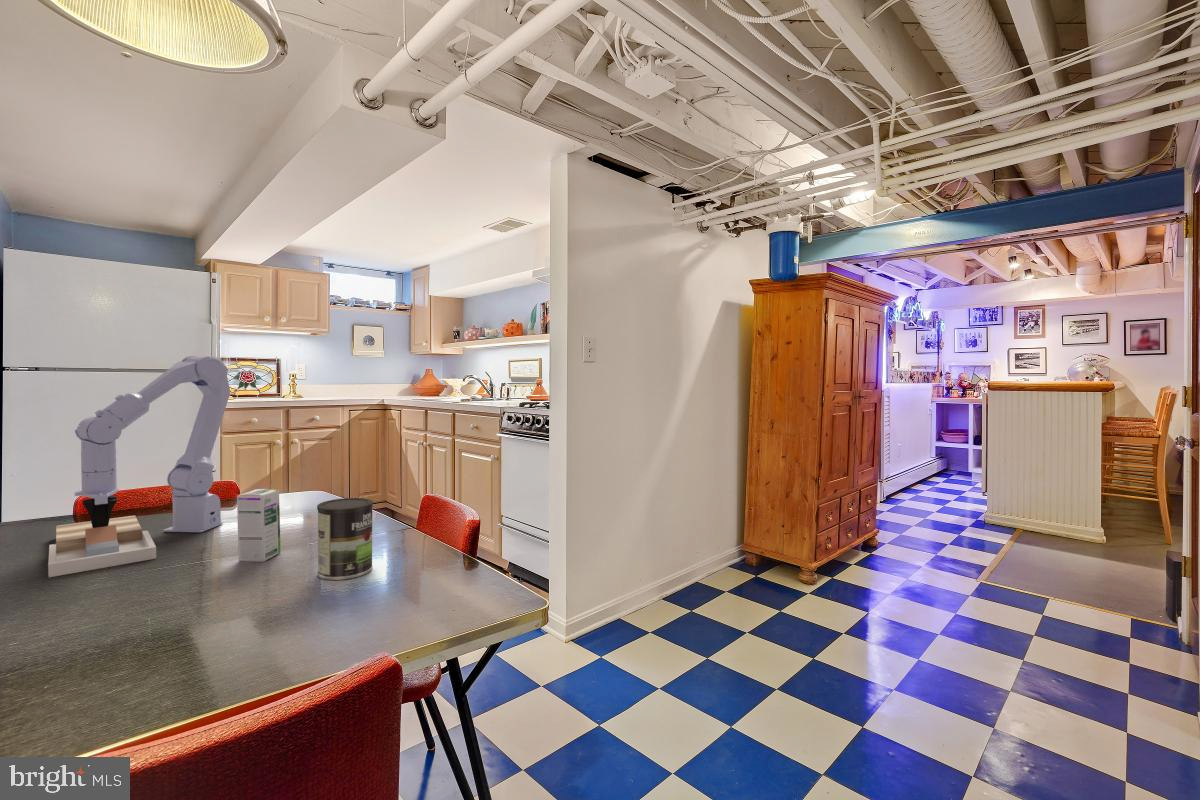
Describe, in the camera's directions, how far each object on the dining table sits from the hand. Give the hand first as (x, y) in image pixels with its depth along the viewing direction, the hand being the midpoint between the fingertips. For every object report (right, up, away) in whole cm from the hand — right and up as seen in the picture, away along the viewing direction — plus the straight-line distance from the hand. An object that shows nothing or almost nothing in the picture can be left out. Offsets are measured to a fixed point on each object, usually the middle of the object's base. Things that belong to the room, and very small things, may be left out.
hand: (100, 530), depth 119 cm
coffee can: (+60, -6, -10) cm, 61 cm away
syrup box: (+38, -5, -4) cm, 39 cm away
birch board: (-5, -4, +5) cm, 8 cm away
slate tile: (+6, -2, -6) cm, 8 cm away
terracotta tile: (+2, -2, -2) cm, 3 cm away
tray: (+6, -4, -6) cm, 9 cm away
